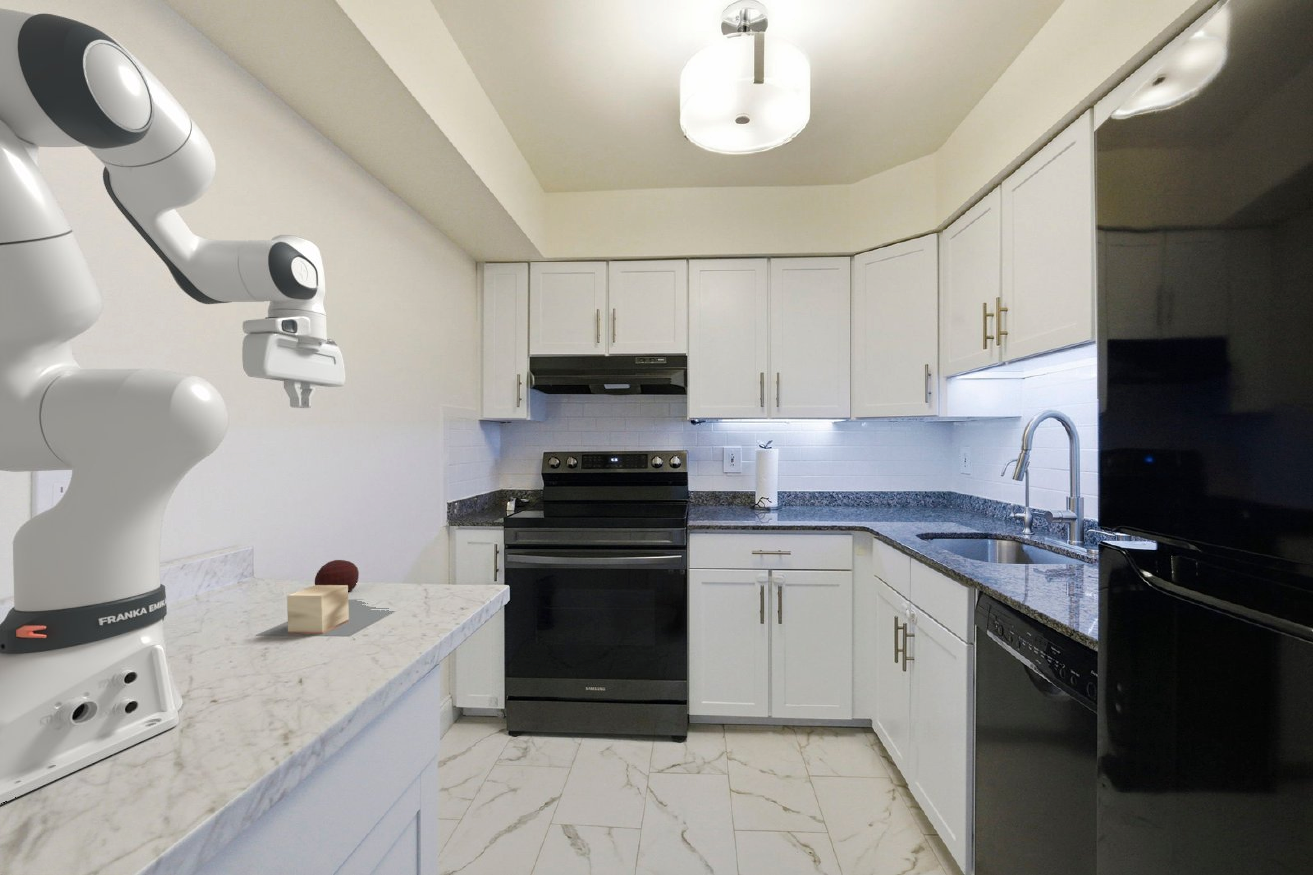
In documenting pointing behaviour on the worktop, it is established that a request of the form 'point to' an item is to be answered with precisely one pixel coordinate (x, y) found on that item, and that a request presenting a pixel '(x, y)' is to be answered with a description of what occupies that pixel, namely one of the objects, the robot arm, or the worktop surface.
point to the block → (317, 609)
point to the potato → (338, 574)
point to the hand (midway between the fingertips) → (300, 407)
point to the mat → (357, 621)
